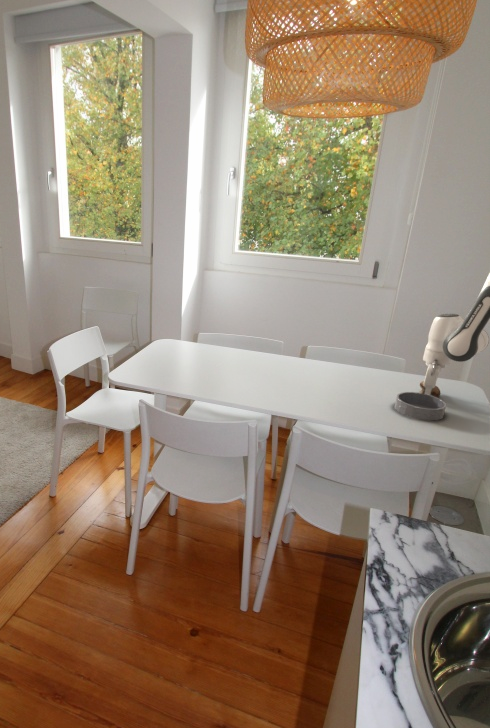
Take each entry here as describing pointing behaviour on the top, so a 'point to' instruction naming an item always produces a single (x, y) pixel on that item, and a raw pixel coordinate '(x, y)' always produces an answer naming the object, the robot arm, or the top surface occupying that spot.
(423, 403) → the pan
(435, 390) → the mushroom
